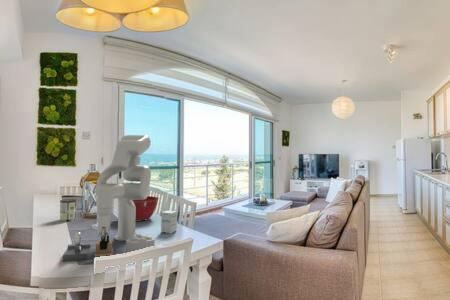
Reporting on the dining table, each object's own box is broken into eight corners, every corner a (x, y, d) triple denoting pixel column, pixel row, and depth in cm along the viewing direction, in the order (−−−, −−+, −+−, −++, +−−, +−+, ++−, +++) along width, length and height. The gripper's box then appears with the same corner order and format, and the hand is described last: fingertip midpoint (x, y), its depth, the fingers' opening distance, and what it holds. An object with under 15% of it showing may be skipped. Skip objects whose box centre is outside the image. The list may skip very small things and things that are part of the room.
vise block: (68, 253, 143) (69, 230, 143) (91, 251, 146) (91, 229, 146) (62, 261, 132) (63, 237, 132) (87, 260, 135) (87, 235, 135)
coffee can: (65, 217, 218) (66, 198, 218) (78, 218, 217) (79, 199, 217) (56, 220, 208) (56, 200, 208) (70, 221, 207) (70, 201, 207)
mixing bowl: (111, 218, 218) (112, 197, 218) (147, 213, 237) (147, 194, 237) (127, 226, 197) (128, 202, 197) (165, 220, 216) (165, 199, 216)
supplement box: (160, 232, 183) (161, 212, 183) (167, 229, 189) (167, 210, 190) (170, 234, 180) (171, 213, 180) (177, 231, 187) (177, 211, 187)
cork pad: (96, 251, 147) (96, 249, 147) (113, 249, 149) (113, 248, 149) (94, 256, 139) (94, 255, 139) (112, 255, 141) (112, 253, 141)
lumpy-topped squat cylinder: (156, 254, 143) (156, 236, 143) (128, 259, 136) (129, 240, 136) (149, 248, 152) (149, 231, 152) (123, 253, 145) (123, 235, 145)
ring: (97, 250, 147) (97, 239, 147) (112, 248, 149) (112, 239, 149) (95, 254, 140) (95, 244, 140) (111, 253, 142) (111, 243, 142)
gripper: (99, 207, 152) (98, 241, 151) (94, 214, 135) (93, 253, 135) (114, 207, 154) (113, 240, 154) (111, 214, 137) (111, 251, 137)
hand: (104, 246), depth 144 cm, fingers open, 8 cm apart
